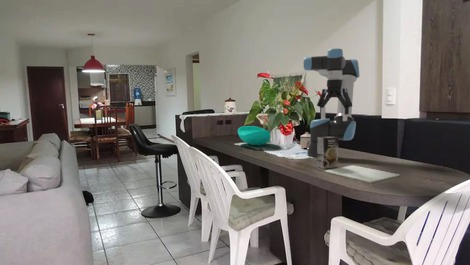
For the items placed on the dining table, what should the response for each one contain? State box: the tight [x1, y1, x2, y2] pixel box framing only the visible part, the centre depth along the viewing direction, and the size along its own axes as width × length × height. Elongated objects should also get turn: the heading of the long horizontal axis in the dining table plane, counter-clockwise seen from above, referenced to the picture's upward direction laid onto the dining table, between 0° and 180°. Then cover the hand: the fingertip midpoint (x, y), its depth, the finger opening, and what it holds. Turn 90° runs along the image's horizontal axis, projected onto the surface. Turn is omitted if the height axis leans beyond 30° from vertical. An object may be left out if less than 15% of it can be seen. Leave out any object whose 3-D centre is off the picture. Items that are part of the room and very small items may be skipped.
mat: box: [323, 164, 400, 184], centre depth 159 cm, size 26×22×1 cm
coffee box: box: [316, 136, 339, 170], centre depth 175 cm, size 9×6×16 cm
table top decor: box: [237, 125, 271, 146], centre depth 256 cm, size 40×28×13 cm
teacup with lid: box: [300, 131, 310, 149], centre depth 238 cm, size 12×9×12 cm
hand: (333, 120), depth 173 cm, fingers open, 13 cm apart
